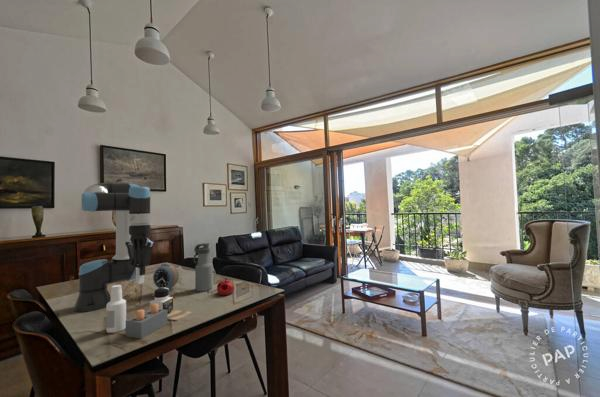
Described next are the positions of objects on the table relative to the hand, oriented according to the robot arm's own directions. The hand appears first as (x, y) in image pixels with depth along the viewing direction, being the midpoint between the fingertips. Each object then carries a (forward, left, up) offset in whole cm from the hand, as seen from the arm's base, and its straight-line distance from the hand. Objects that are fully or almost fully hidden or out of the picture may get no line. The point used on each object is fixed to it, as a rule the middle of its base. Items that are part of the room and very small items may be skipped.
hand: (140, 283), depth 106 cm
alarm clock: (-29, +44, -20) cm, 56 cm away
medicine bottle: (-7, +18, -20) cm, 28 cm away
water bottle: (-12, +56, -20) cm, 60 cm away
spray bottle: (-13, +1, -20) cm, 24 cm away
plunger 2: (0, +7, -17) cm, 18 cm away
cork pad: (+1, +18, -20) cm, 27 cm away
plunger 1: (0, 0, -17) cm, 17 cm away
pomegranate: (+6, +52, -20) cm, 56 cm away
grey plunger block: (0, +4, -20) cm, 20 cm away
